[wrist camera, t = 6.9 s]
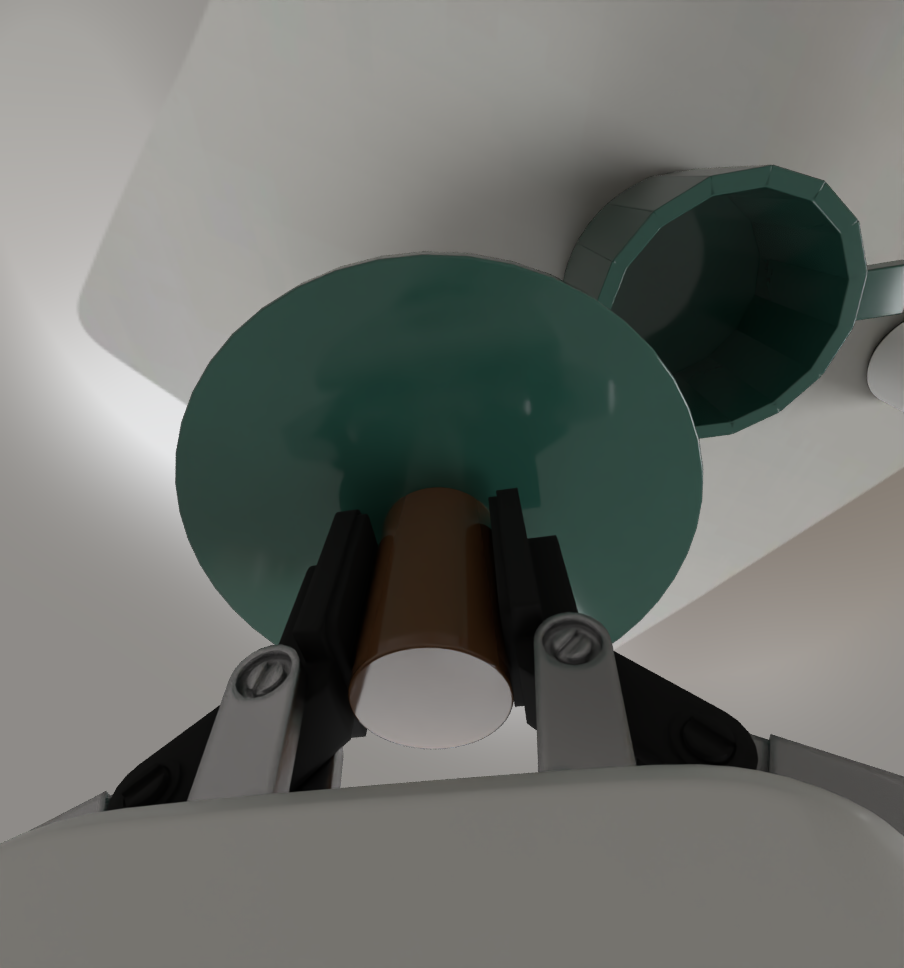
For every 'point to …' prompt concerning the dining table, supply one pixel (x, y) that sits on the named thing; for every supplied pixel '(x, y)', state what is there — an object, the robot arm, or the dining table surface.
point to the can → (888, 369)
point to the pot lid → (437, 468)
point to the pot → (735, 283)
